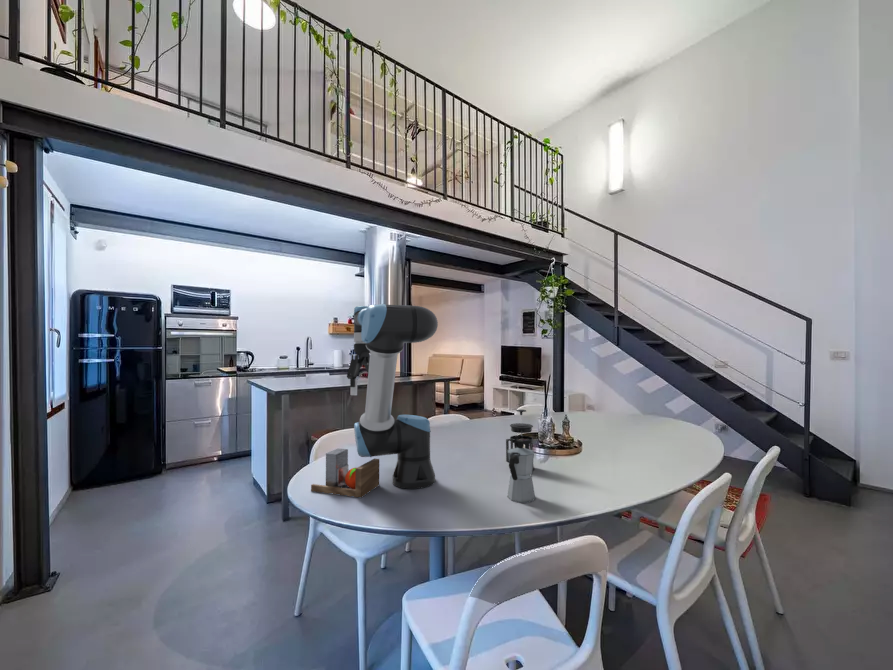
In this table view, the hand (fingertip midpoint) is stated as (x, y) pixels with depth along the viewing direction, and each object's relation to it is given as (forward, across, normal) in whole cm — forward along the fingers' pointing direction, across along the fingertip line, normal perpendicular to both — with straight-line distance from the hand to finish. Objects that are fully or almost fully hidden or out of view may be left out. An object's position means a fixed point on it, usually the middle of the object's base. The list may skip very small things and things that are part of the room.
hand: (362, 393), depth 161 cm
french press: (+29, -12, +64) cm, 71 cm away
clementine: (+29, +28, +14) cm, 43 cm away
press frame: (+29, +28, +10) cm, 41 cm away
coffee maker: (+29, +19, +68) cm, 76 cm away
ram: (+29, +28, +7) cm, 41 cm away
